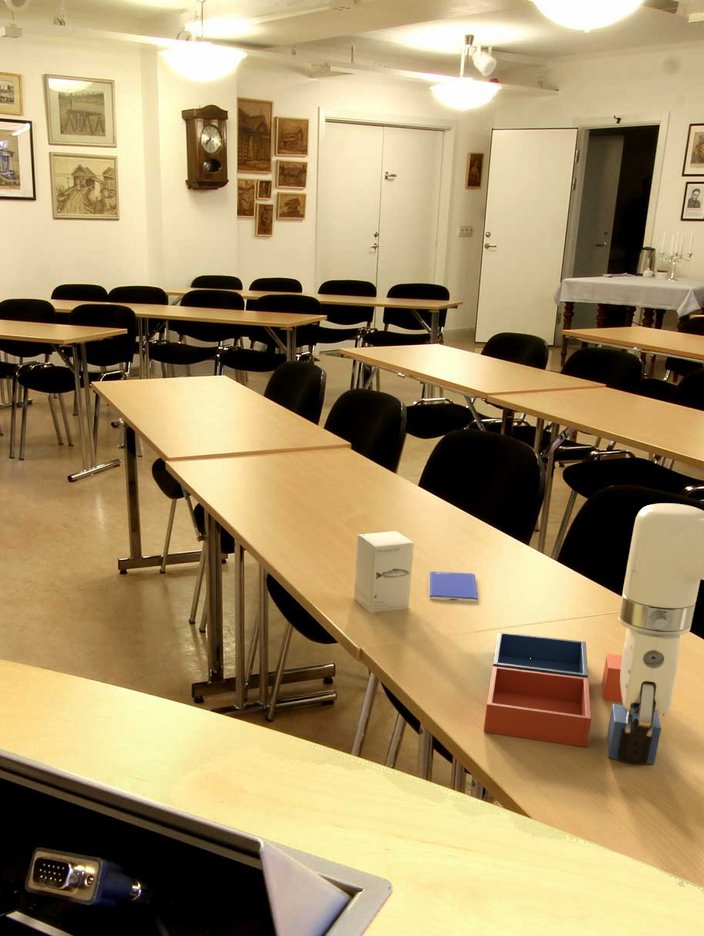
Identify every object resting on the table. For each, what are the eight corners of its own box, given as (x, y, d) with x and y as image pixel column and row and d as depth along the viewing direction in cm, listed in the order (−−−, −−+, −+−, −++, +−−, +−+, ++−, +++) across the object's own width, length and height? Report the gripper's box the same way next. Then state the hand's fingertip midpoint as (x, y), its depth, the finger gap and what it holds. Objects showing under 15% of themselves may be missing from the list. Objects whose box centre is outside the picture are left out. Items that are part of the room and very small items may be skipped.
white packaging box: (369, 617, 155) (373, 546, 150) (352, 601, 161) (356, 533, 156) (409, 612, 156) (415, 542, 151) (391, 597, 163) (396, 529, 158)
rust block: (640, 690, 127) (646, 658, 125) (643, 706, 122) (649, 672, 121) (601, 685, 128) (606, 653, 127) (602, 701, 124) (608, 667, 122)
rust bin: (584, 704, 123) (588, 677, 122) (586, 747, 113) (591, 718, 111) (489, 691, 128) (492, 666, 126) (483, 731, 117) (486, 704, 116)
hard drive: (429, 571, 170) (429, 595, 159) (475, 573, 168) (478, 597, 157) (428, 578, 171) (428, 603, 160) (474, 581, 169) (477, 606, 158)
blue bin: (581, 666, 134) (585, 641, 133) (583, 702, 124) (588, 675, 123) (495, 655, 139) (498, 631, 137) (490, 689, 128) (493, 663, 127)
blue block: (650, 745, 113) (657, 709, 111) (654, 764, 109) (661, 728, 107) (606, 738, 115) (612, 703, 113) (608, 758, 110) (614, 721, 108)
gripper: (702, 644, 96) (671, 791, 103) (683, 591, 111) (657, 723, 118) (624, 635, 99) (599, 779, 106) (616, 585, 113) (594, 714, 120)
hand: (630, 748), depth 112 cm, fingers closed on blue block, 5 cm apart
